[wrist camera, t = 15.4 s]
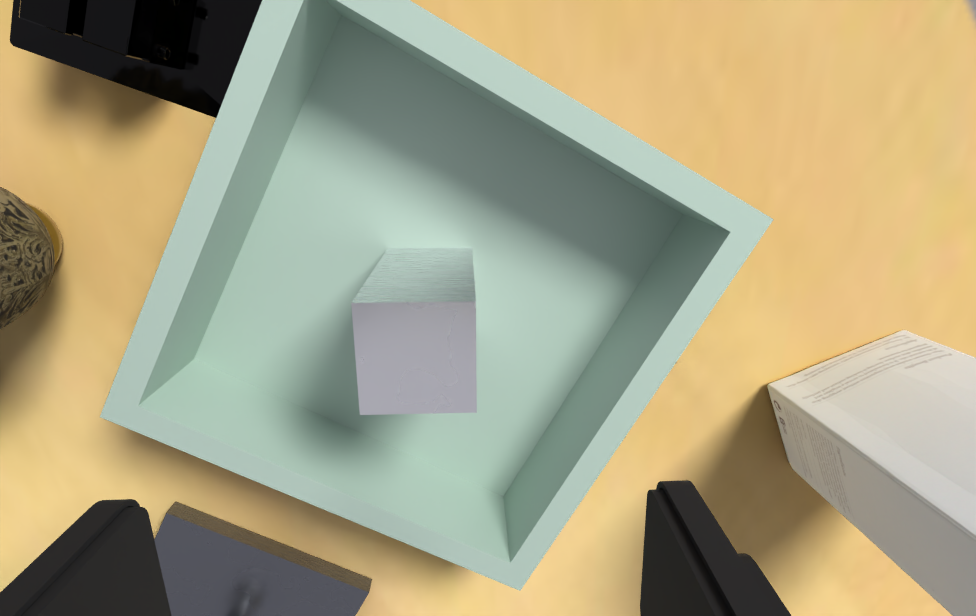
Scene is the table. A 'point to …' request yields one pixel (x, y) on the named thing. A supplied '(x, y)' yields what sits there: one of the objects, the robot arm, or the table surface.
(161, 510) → the table surface
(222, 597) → the stud plate
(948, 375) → the skincare box
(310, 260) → the bin
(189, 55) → the black slotted box
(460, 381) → the strut
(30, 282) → the cup
